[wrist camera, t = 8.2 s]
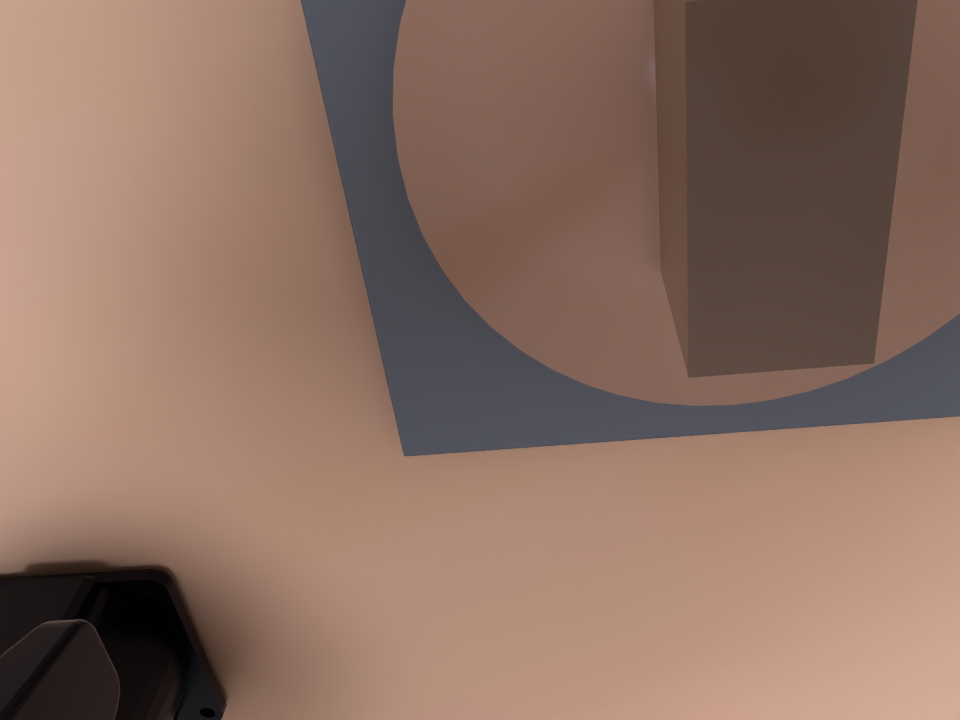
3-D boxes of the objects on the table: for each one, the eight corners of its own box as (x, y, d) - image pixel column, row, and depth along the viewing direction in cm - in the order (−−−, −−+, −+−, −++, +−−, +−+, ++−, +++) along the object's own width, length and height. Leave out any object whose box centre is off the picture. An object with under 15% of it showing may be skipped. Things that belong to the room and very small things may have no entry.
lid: (1017, 357, 20) (1145, 506, 16) (451, 401, 22) (429, 547, 17) (1178, -374, 13) (1476, -459, 9) (336, -238, 15) (256, -253, 11)
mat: (1065, 393, 21) (1077, 407, 21) (407, 441, 23) (404, 456, 23) (1295, -519, 13) (1326, -533, 12) (236, -325, 15) (226, -330, 14)
